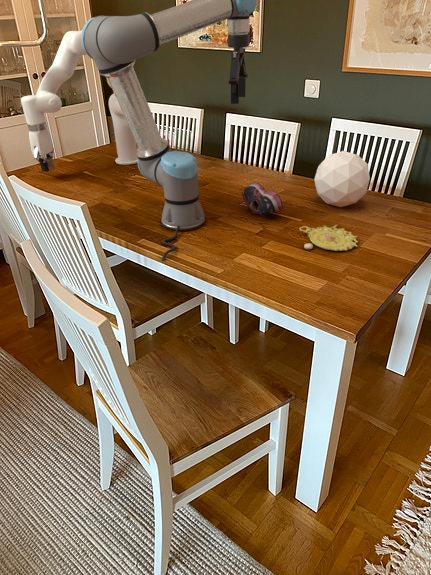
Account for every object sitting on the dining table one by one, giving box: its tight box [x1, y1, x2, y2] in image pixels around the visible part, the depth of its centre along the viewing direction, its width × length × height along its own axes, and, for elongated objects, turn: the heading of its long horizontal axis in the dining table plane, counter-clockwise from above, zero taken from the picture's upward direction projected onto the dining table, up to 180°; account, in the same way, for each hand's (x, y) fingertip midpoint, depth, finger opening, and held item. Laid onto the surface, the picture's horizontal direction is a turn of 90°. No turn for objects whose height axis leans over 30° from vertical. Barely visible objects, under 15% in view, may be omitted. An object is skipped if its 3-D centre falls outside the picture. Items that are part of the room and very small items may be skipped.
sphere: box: [313, 150, 371, 208], centre depth 161 cm, size 19×20×20 cm
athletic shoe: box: [238, 182, 284, 217], centre depth 160 cm, size 11×22×12 cm
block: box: [45, 157, 56, 172], centre depth 197 cm, size 4×4×5 cm
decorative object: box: [299, 224, 359, 252], centre depth 141 cm, size 21×2×20 cm
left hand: (48, 168), depth 198 cm, fingers closed on block, 4 cm apart
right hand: (238, 100), depth 163 cm, fingers open, 13 cm apart
